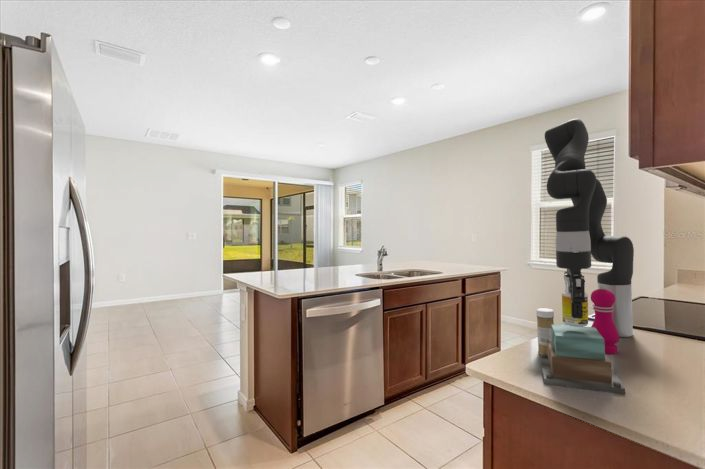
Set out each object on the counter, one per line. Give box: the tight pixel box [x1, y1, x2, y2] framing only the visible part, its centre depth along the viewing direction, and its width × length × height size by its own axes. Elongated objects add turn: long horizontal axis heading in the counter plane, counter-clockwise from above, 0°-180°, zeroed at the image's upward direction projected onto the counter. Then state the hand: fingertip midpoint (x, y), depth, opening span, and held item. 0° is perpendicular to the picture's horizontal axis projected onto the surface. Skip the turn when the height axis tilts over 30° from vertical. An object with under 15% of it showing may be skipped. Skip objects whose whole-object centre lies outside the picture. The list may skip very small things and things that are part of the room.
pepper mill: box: [590, 284, 620, 355], centre depth 103 cm, size 7×7×20 cm
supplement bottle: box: [561, 283, 589, 327], centre depth 88 cm, size 6×6×10 cm
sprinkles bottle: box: [535, 307, 555, 356], centre depth 102 cm, size 5×5×13 cm
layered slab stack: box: [539, 324, 626, 395], centre depth 88 cm, size 16×16×11 cm
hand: (575, 314), depth 88 cm, fingers closed on supplement bottle, 5 cm apart
